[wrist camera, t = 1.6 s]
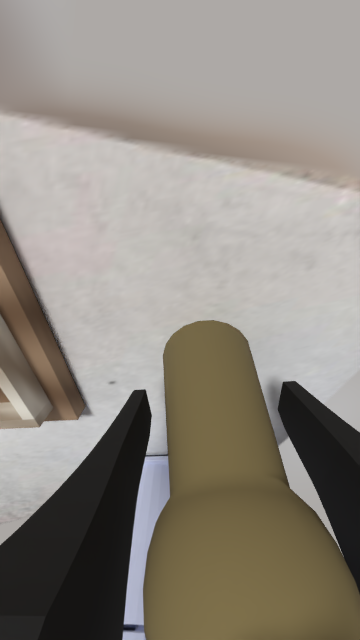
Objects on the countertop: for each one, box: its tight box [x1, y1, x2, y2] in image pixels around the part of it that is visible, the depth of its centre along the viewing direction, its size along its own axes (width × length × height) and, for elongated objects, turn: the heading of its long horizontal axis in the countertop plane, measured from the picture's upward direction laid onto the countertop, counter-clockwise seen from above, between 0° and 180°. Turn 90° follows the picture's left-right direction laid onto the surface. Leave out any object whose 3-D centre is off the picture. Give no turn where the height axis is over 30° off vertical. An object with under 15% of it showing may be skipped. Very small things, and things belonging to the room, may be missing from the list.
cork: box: [143, 320, 360, 640], centre depth 8 cm, size 6×6×11 cm
